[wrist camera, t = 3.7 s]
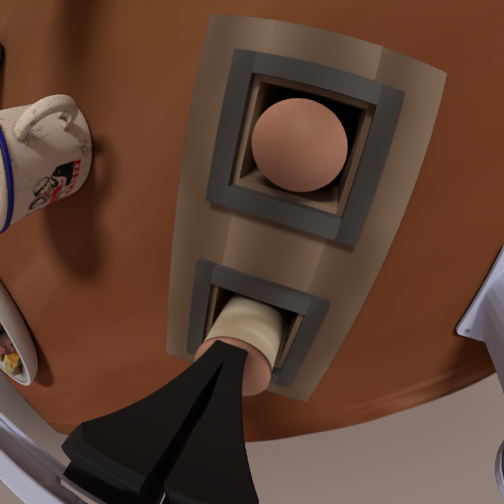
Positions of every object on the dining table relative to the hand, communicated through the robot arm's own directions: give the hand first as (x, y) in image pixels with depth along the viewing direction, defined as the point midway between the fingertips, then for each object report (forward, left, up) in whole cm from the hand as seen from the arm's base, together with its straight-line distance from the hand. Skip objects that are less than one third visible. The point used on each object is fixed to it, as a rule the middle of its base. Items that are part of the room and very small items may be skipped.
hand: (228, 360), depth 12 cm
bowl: (+47, +29, -10) cm, 56 cm away
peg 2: (0, -8, -10) cm, 13 cm away
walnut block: (0, -3, -10) cm, 10 cm away
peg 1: (0, +3, -7) cm, 7 cm away
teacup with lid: (+19, -5, -10) cm, 22 cm away
